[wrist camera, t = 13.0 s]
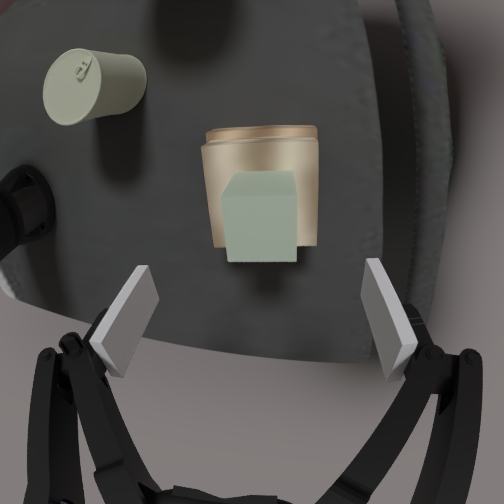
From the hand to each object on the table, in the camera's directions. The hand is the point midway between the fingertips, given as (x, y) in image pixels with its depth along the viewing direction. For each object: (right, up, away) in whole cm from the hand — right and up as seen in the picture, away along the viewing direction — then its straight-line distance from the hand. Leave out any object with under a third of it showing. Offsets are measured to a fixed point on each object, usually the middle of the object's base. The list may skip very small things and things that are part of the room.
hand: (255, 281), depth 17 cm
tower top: (+1, +10, +18) cm, 20 cm away
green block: (+1, +8, +14) cm, 16 cm away
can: (-19, +25, +15) cm, 35 cm away
